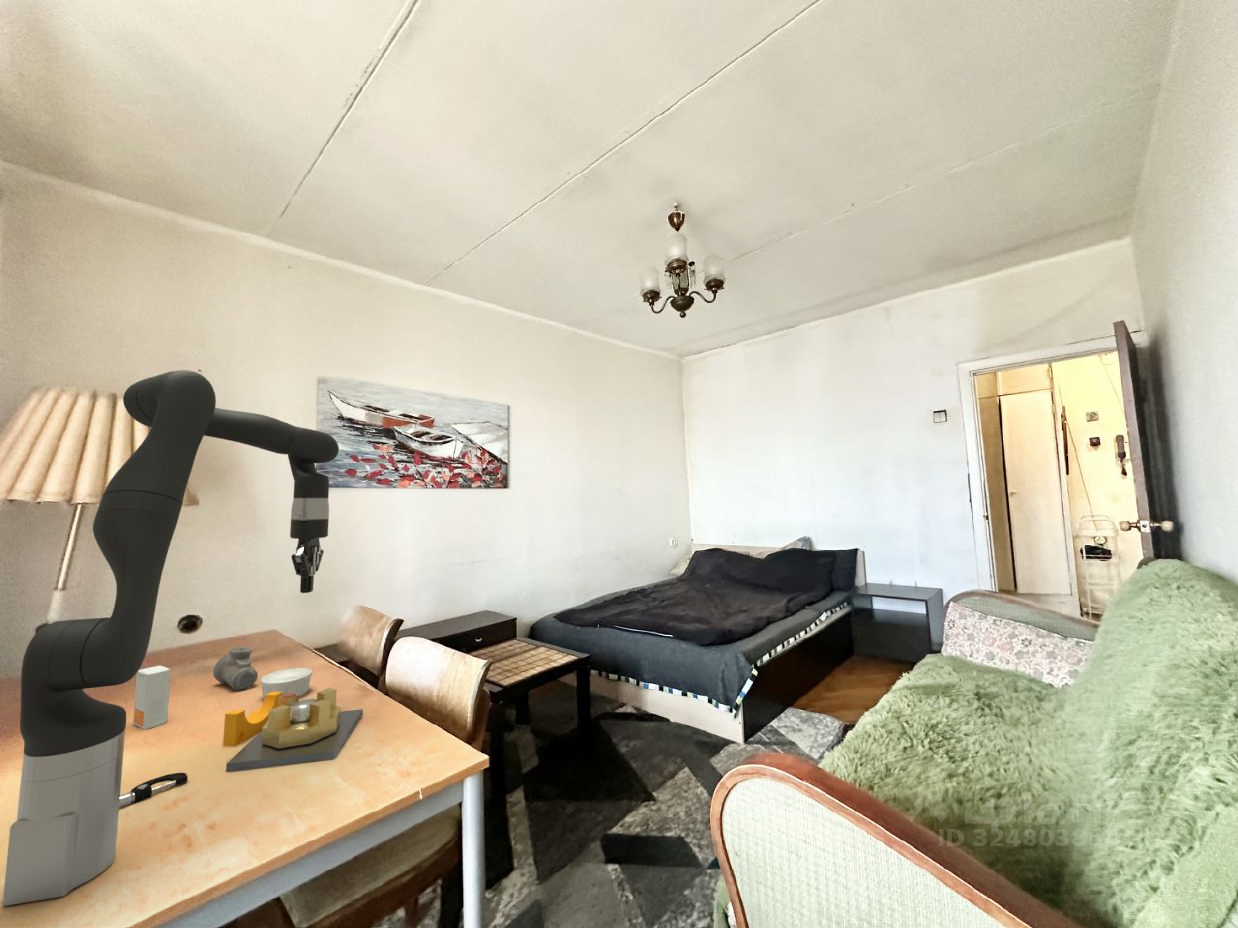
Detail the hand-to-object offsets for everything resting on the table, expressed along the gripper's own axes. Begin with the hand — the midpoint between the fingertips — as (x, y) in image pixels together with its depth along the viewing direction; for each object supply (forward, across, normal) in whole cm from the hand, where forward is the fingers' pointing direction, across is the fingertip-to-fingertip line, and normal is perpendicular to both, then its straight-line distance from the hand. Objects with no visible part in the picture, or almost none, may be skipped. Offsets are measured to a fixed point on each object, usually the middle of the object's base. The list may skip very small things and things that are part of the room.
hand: (306, 592), depth 112 cm
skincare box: (+29, -8, -33) cm, 45 cm away
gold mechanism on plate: (+29, +10, +4) cm, 31 cm away
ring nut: (+27, +10, +4) cm, 29 cm away
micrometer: (+30, +25, -17) cm, 42 cm away
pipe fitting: (+29, -30, -26) cm, 49 cm away
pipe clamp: (+29, +3, -9) cm, 31 cm away
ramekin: (+29, -19, -10) cm, 36 cm away
